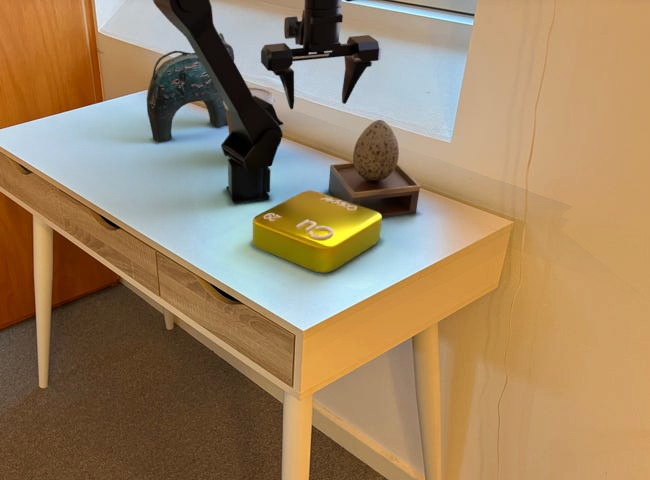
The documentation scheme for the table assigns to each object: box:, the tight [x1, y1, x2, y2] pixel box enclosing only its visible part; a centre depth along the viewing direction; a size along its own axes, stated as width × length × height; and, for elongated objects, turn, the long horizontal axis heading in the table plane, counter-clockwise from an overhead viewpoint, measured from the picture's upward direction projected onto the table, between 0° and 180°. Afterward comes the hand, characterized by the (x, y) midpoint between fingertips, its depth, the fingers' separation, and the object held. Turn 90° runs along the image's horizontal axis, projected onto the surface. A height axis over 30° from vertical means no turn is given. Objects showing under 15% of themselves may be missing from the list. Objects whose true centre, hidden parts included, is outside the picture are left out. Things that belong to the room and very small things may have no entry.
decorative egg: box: [352, 119, 400, 182], centre depth 116 cm, size 7×7×10 cm
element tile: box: [252, 189, 383, 274], centre depth 110 cm, size 15×15×5 cm
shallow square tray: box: [328, 162, 421, 218], centre depth 120 cm, size 11×12×5 cm
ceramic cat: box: [146, 32, 235, 143], centre depth 147 cm, size 20×6×20 cm, turn 122°
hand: (317, 105), depth 123 cm, fingers open, 9 cm apart
